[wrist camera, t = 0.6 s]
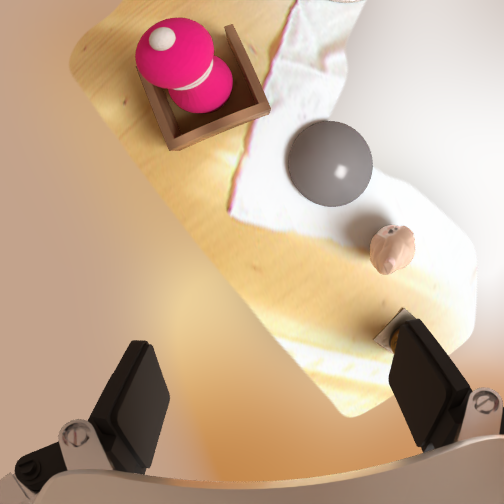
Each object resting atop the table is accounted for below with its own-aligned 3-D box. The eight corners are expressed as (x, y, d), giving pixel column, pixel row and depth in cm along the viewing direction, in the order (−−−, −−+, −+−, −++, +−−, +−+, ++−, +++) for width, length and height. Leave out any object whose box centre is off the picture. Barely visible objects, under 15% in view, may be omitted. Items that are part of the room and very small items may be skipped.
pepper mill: (167, 98, 34) (89, 58, 15) (201, 55, 32) (155, -21, 13) (211, 127, 35) (165, 105, 16) (246, 84, 33) (238, 18, 14)
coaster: (296, 113, 34) (296, 113, 34) (377, 133, 35) (378, 132, 34) (282, 198, 38) (282, 198, 37) (362, 212, 38) (363, 213, 38)
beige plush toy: (368, 217, 38) (392, 233, 31) (407, 222, 39) (436, 238, 31) (360, 262, 41) (380, 287, 33) (398, 265, 41) (423, 288, 33)
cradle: (235, 38, 31) (232, 23, 26) (268, 114, 34) (271, 108, 30) (149, 75, 32) (135, 66, 28) (180, 150, 36) (169, 150, 31)
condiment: (400, 358, 47) (426, 404, 35) (372, 339, 45) (398, 388, 34) (428, 329, 45) (461, 371, 33) (403, 307, 43) (438, 350, 32)
